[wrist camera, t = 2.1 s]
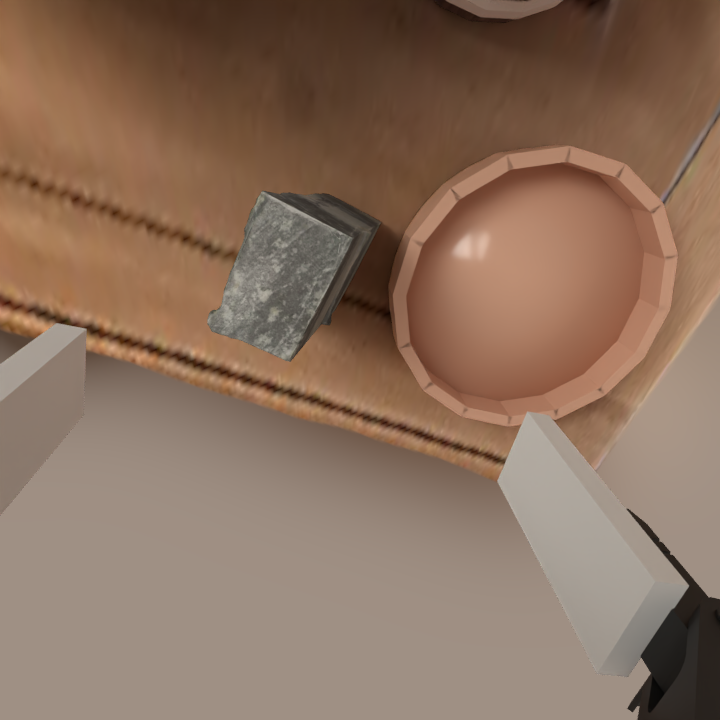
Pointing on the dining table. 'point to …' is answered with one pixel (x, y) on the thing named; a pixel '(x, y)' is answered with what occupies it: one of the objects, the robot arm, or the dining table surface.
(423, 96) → the dining table surface
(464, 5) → the mug
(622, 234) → the dish
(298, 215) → the stone block
